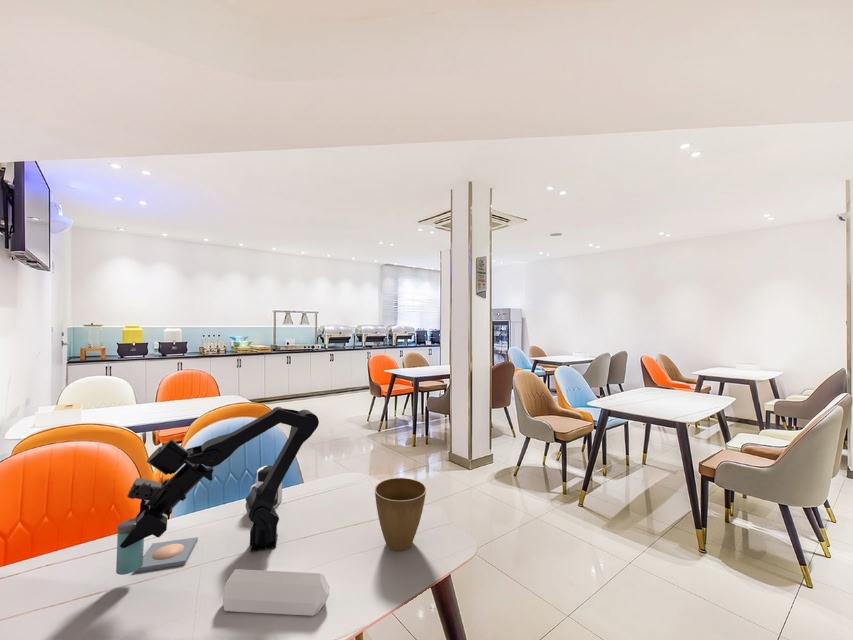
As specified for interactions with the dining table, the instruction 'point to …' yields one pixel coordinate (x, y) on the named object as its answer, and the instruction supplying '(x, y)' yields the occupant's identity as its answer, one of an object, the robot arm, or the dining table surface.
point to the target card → (168, 554)
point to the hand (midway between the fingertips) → (123, 541)
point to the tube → (128, 550)
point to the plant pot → (399, 510)
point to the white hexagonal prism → (275, 592)
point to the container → (261, 478)
